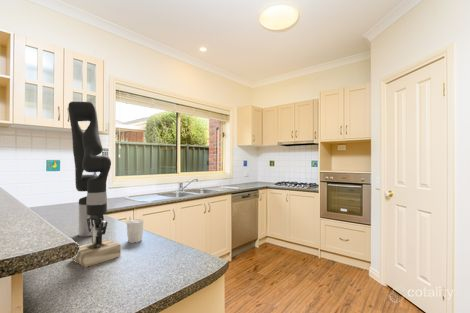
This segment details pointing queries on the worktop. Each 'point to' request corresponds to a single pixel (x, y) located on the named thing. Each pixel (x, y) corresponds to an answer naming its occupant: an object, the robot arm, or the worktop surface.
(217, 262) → the worktop surface
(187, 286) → the worktop surface
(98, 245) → the steel pin
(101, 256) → the wooden peg hole block
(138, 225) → the white cup
